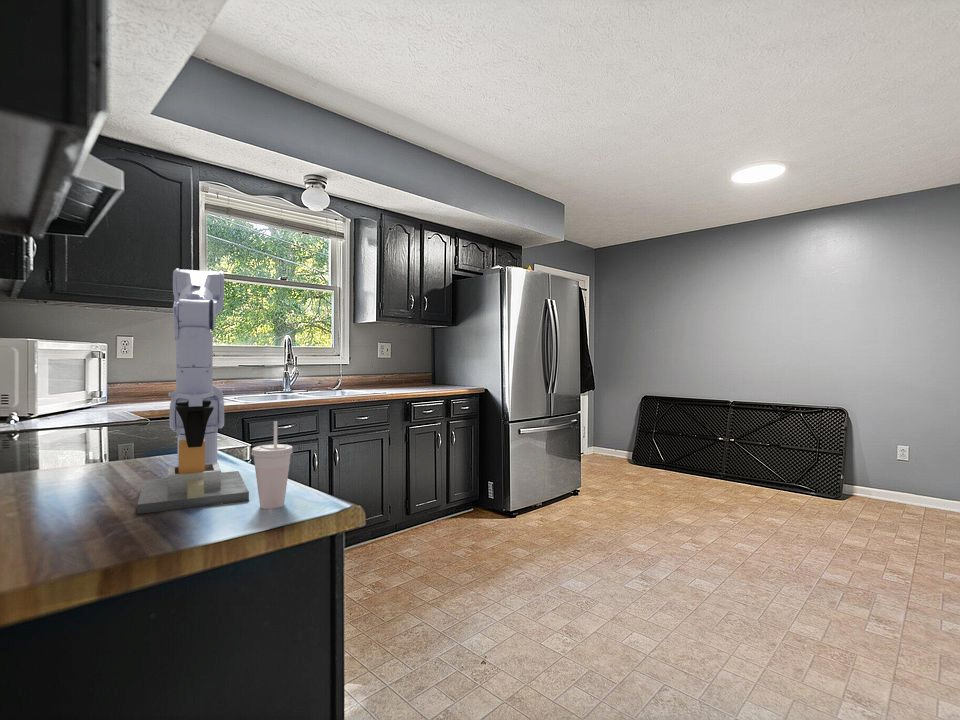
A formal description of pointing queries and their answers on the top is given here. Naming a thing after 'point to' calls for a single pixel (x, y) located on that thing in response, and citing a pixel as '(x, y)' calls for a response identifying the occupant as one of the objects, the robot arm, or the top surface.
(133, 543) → the top surface
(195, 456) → the wedge pin
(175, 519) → the top surface
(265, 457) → the smoothie
